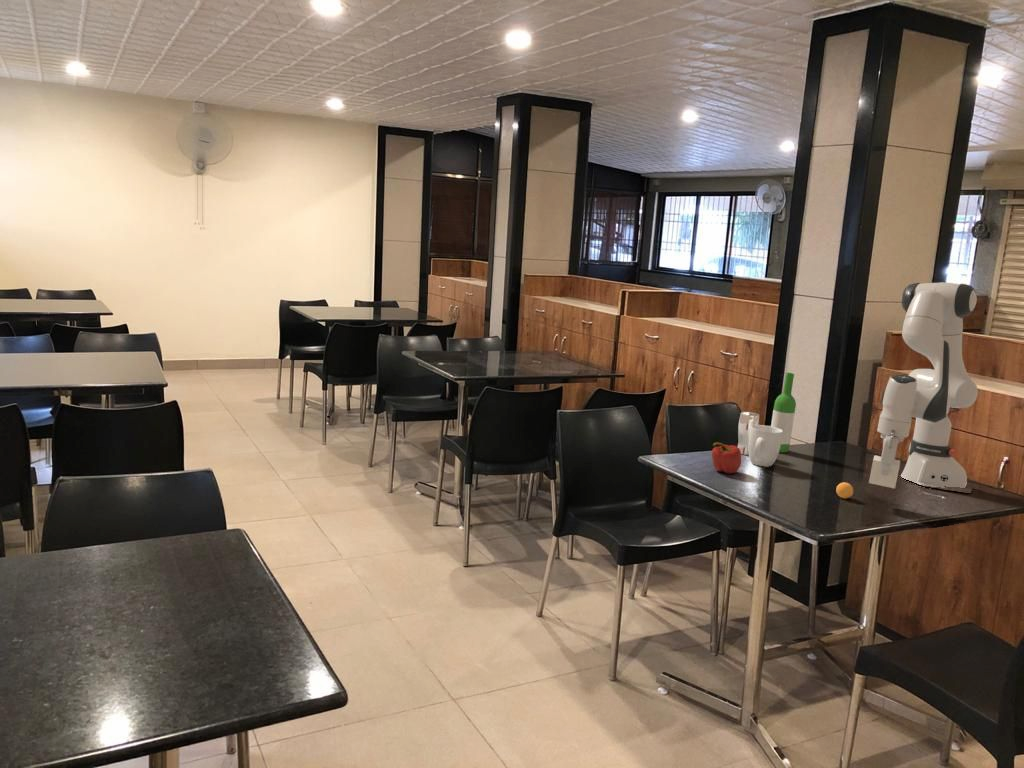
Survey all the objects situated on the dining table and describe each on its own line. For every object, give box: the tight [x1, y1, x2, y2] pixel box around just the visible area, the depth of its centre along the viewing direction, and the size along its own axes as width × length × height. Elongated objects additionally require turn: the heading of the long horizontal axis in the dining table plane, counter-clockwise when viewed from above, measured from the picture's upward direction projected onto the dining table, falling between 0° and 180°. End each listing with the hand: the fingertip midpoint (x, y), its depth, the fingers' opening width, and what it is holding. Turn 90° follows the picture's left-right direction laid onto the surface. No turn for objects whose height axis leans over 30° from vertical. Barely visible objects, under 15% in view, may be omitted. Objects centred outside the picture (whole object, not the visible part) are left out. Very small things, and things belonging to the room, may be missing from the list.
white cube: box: [868, 455, 901, 489], centre depth 251 cm, size 7×7×7 cm
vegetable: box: [711, 442, 742, 474], centre depth 274 cm, size 11×10×10 cm
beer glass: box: [736, 411, 760, 456], centre depth 302 cm, size 7×7×15 cm
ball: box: [835, 482, 854, 499], centre depth 257 cm, size 5×5×5 cm
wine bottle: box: [770, 372, 797, 454], centre depth 310 cm, size 8×8×30 cm
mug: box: [748, 424, 783, 468], centre depth 286 cm, size 15×11×13 cm
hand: (885, 471), depth 251 cm, fingers closed on white cube, 7 cm apart
